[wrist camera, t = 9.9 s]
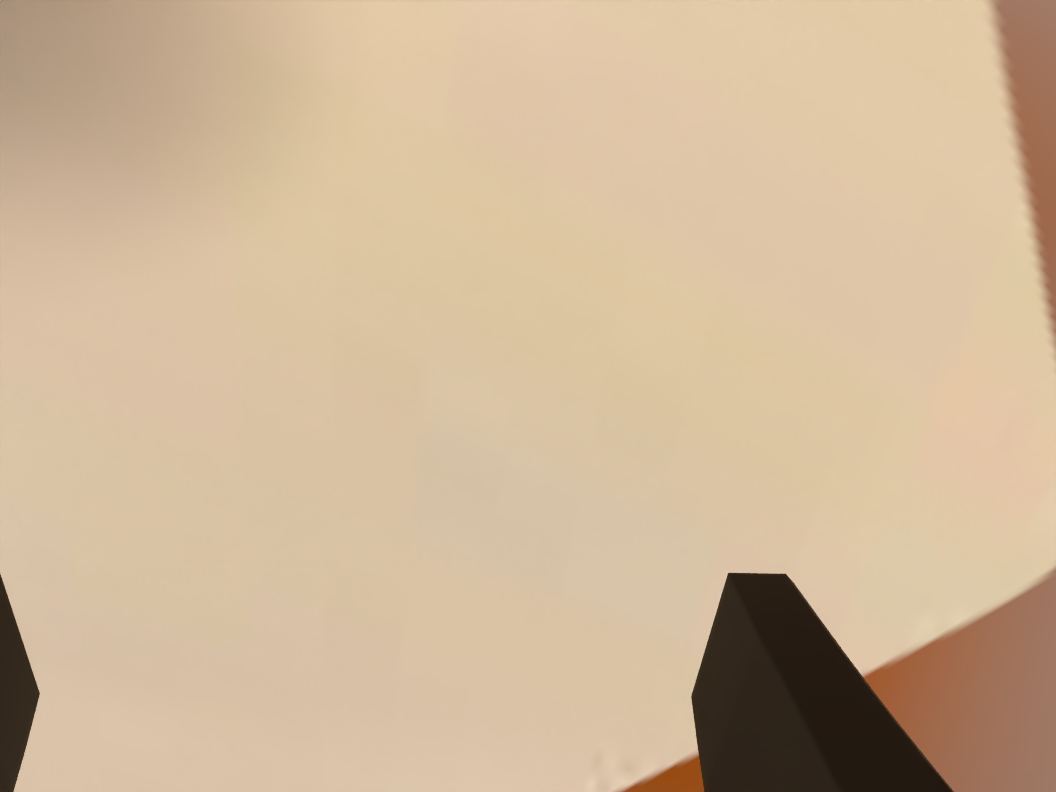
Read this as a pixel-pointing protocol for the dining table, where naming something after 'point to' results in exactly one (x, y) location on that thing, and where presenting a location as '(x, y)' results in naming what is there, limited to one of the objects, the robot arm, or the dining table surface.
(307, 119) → the dining table surface
